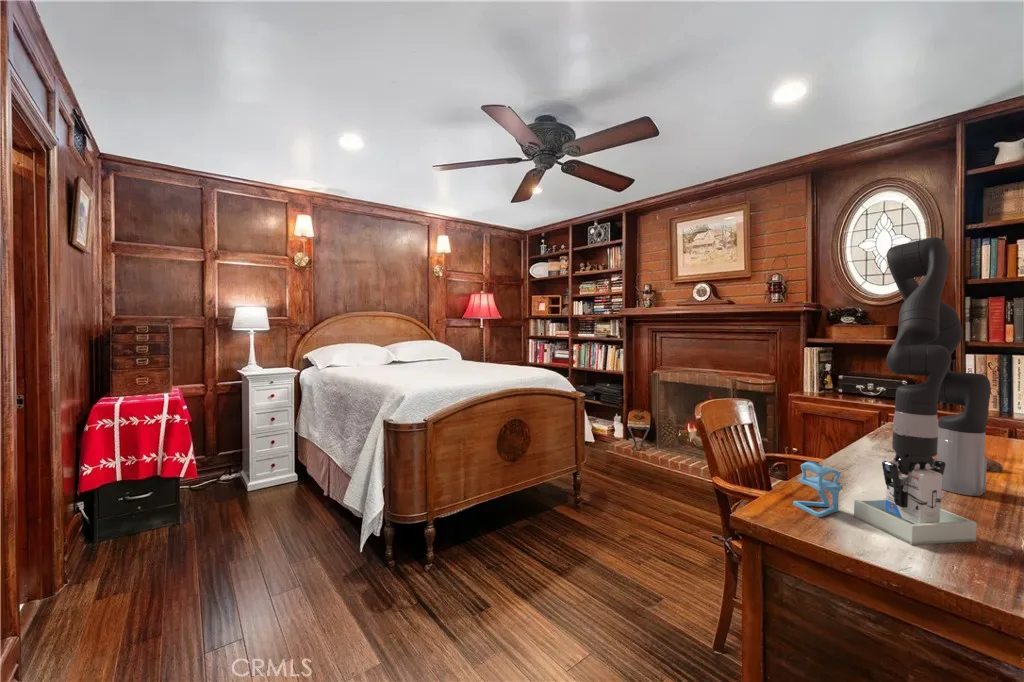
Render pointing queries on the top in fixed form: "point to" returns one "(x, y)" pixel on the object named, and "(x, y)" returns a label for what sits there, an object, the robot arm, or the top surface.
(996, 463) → the ceramic shard
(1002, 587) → the top surface
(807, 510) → the chair
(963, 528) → the celadon dish
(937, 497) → the ink box
